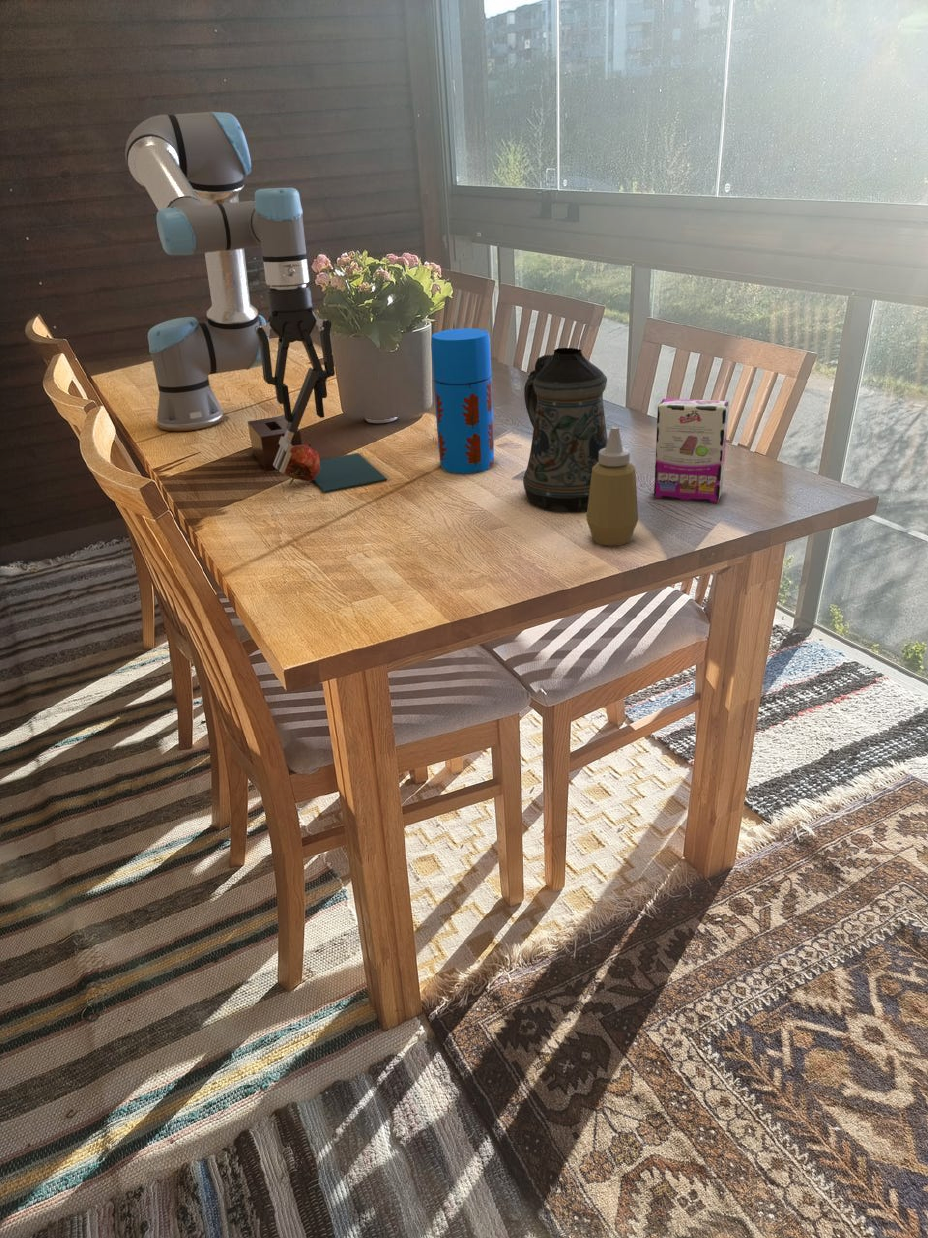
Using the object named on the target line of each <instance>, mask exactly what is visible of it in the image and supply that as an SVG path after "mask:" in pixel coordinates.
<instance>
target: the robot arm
mask: <svg viewBox="0 0 928 1238" xmlns="http://www.w3.org/2000/svg"><path fill="white" fill-rule="evenodd" d="M124 151H125V152H124V154H125V155H124V157H125V163H126V165H127V169H128V170H129V172H130V174H131V175H132V177H133V179H134V180H135V181H136V182H137V183H138V184H139V185H141V186H142V187H144V188H145V190H146V191H147V193H148V195H149V196H150V198H151V200H152V202H153V203H154V205H155V207H156V209H157V212H156V226H157V232H158V236H159V240H160V243H161V246H162V249H163V250H164V252H165V253H166V254H167V255H169V256H186V257H187V256H192V255H198V254H204V257H205V259H204V260H205V265H206V271H207V272H206V273H207V278H208V279H207V280H208V286H209V294H210V301H211V306H210V308H209V309H208V310H206V320H207V321H203V322H199V320H198V318H196V317H194V316H186V317H178V318H174V319H169V320H166V321H163V322H160V323H158V324H156V325H154V326H152V327H151V328H150V329H149V330H148V332H147V341H148V348H149V349H148V353H150V355H151V361H152V365H153V369H154V375H155V379H156V384H157V387H158V392H159V393H158V394H159V396H158V405H157V408H158V409H157V416H156V421H157V425H158V428H159V429H160V430H163V431H167V432H190V431H197V430H203V429H206V428H209V427H213V426H216V425H218V424H220V423H222V422H223V421H224V420H225V417H224V411H223V409H222V406H221V405H220V402H219V401H218V399H217V397H216V395H215V393H214V391H213V390H212V388H211V385H210V380H209V376H210V375H216V374H223V373H230V372H237V371H244V370H246V371H248V370H251V369H254V368H258V367H261V368H262V369H261V370H262V376H263V381H264V382H265V383H266V384H267V385H272V386H274V388H275V395H276V401H277V403H278V404H279V405H282V406H283V413H284V415H285V419H286V420H287V421H288V422H292V414H291V413H292V407H291V400H290V392H289V386H288V385H287V384H286V383H284V382H285V376H286V375H285V374H286V367H287V361H288V360H287V359H288V351H289V348H290V343H294V342H302V344H303V347H304V349H305V352H306V354H307V357H308V359H309V362H310V365H311V368H312V369H314V370H315V371H317V372H319V376H318V378H317V381H316V384H315V386H314V389H313V395H314V402H315V403H314V404H315V411H316V415H317V417H318V418H320V419H322V418H323V419H324V418H325V409H324V402H323V399H326V398H328V392H327V391H328V389H327V380H328V379H329V378H331V377H334V376H335V375H336V371H335V363H334V357H333V350H332V341H331V331H332V330H331V329H332V321H331V320H329V319H327V318H319V317H317V315H316V313H314V309H313V308H314V307H313V298H312V291H311V288H310V286H309V285H307V284H309V283H310V274H309V267H308V266H309V264H308V257H307V248H306V238H305V237H306V236H305V229H304V219H303V212H304V211H303V207H302V203H301V197H300V192H299V191H298V190H297V189H296V188H295V187H273V188H271V187H270V188H260V189H259V188H258V189H257V190H255V192H254V199H251V200H248V201H240V200H239V194H240V192H241V191H242V190H243V189H244V187H245V181H244V176H245V177H247V176H248V175H250V174H251V172H252V159H251V155H250V150H249V146H248V142H247V138H246V136H245V133H244V130H243V128H242V126H241V124H240V122H239V120H238V118H237V117H236V116H235V115H233V114H232V113H230V112H222V111H221V112H219V111H204V112H203V111H201V112H190V113H189V112H188V113H174V114H158V115H154V116H151V117H149V118H146V119H145V120H143V121H142V122H140V123H139V124H138V125H137V126H136V127H135V128H134V129H133V130H132V132H131V133H130V135H129V136H128V139H127V141H126V145H125V149H124ZM252 248H253V249H255V248H261V254H262V255H261V256H262V261H263V262H262V263H263V271H264V279H265V284H266V286H268V287H269V288H268V289H267V291H266V293H267V301H268V308H269V317H268V321H266V319H265V318H264V316H262V315H260V314H259V311H258V309H257V307H255V306H253V304H251V298H250V297H251V296H250V288H249V280H248V273H247V272H248V271H247V262H246V255H245V254H246V253H245V250H246V249H252ZM315 326H316V328H317V330H318V331H319V337H320V344H321V351H322V352H321V353H322V358H323V360H322V361H323V366H322V364H321V361H320V359H319V355H318V353H317V351H316V348H315V346H314V342H313V340H312V337H311V334H312V332H313V330H314V328H315ZM271 330H272V331H273V332H274V334H276V335H277V336H278V341H277V353H276V360H275V361H276V362H275V369H274V376H273V369H272V368H273V367H272V358H271V349H270V336H271ZM323 367H324V369H323Z"/></svg>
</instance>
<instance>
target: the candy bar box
mask: <svg viewBox="0 0 928 1238" xmlns="http://www.w3.org/2000/svg"><path fill="white" fill-rule="evenodd" d="M729 411H730V400H718V399H717V400H715V399H687V398H685V399H684V398H683V399H681V398H662V400H661V401H660V403H659V405H658V406H657V415H656V416H657V417H656V438H655V439H656V440H655V442H656V443H655V461H654V462H655V463H654V483H653V498H655V499H665V500H677V501H690V502H701V503H702V502H705V503H719V501H720V498H721V496H722V493H723V485H724V472H725V461H726V460H725V459H726V449H727V448H726V446H727V435H728V434H727V433H728V421H729Z"/></svg>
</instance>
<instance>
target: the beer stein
mask: <svg viewBox="0 0 928 1238" xmlns="http://www.w3.org/2000/svg"><path fill="white" fill-rule="evenodd" d="M607 383H608V377H607V376H606V375H605V373H604V372H603V371H602V370H601V369H600V368H599V367H597V366H596V365H595V364H593V362H591V361H589V360H588V359H587V358H586V357H585V356H584V355H583V352H582V349H579V348H574V347H561V348H560V347H559V348H554V349H553V354H545V355H542V356H540V357H537V359H536V361H535V364H534V370H532V371H531V372H530V373H529V374H528V376H527V379H526V381H525V384H524V388H523V398H524V404H525V409H526V412H527V415H528V418H529V421H530V423H531V426H532V428H533V432H532V438H531V445H530V451H529V457H528V463H527V465H526V470H525V472H524V475H523V478H522V485H523V488H524V491H525V498H526V499H527V502H528V503H529V504H531V505H532V506H534V507H536V508H539V509H542V510H545V511H551V512H555V513H579V512H580V513H581V512H587V508H588V500H589V491H590V483H591V475H592V467H593V466H594V465H596V464H597V463H598V462H599V451H600V450H601V449H603V448H606V446H607V441H608V437H609V436H608V429H607V421H606V415H605V413H606V412H605V405H604V392H605V391H606V389H607V385H608V384H607Z"/></svg>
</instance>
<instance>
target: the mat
mask: <svg viewBox="0 0 928 1238" xmlns="http://www.w3.org/2000/svg"><path fill="white" fill-rule="evenodd" d="M312 481H313V482H314V484H316V485H317V487H318V488H319V489H320V490H321V491H322V493H324V494H327V493H330V492H336V491H341V490H342V491H343V490H346V489H351V488H355V487H361V486H367V485H371V484H376V483H377V484H378V483H381V482H387V481H388V479H387V477H385V475H384V474H382V473H381V472H380V471H379V470H378V469H377V468H376V467H374V466H373V465H372V464H371V463H370V462H369V461H368V460H366V459H365V458H364V457H363V456H362V455H361V454H359V452H355V453H352V454H345V455H341V456H335V457H329V458H325V459H320V471H319V474H318V475H317V476H316V477H315V478H314V479H313V480H312Z"/></svg>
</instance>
